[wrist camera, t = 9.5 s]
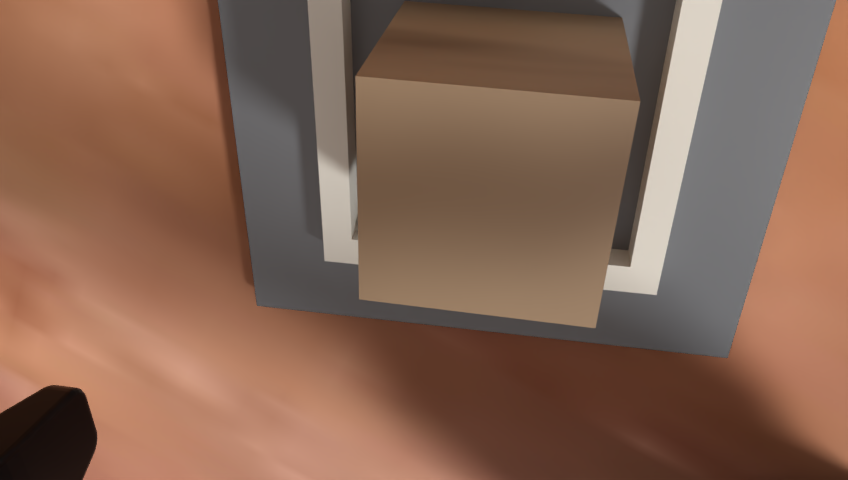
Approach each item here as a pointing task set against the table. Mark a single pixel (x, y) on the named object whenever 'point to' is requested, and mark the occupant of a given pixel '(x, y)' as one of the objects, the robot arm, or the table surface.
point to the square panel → (644, 183)
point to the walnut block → (493, 160)
